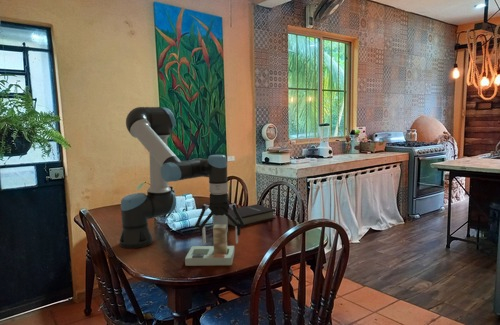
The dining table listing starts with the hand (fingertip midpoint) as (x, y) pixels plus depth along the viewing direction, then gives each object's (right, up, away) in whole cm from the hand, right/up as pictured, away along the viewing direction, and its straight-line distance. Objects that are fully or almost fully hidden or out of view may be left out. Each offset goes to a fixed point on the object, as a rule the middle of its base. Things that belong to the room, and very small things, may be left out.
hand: (220, 243), depth 144 cm
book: (+10, 0, +58) cm, 58 cm away
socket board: (-4, -7, +1) cm, 8 cm away
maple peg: (0, -7, +1) cm, 7 cm away
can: (-3, -3, +34) cm, 34 cm away
